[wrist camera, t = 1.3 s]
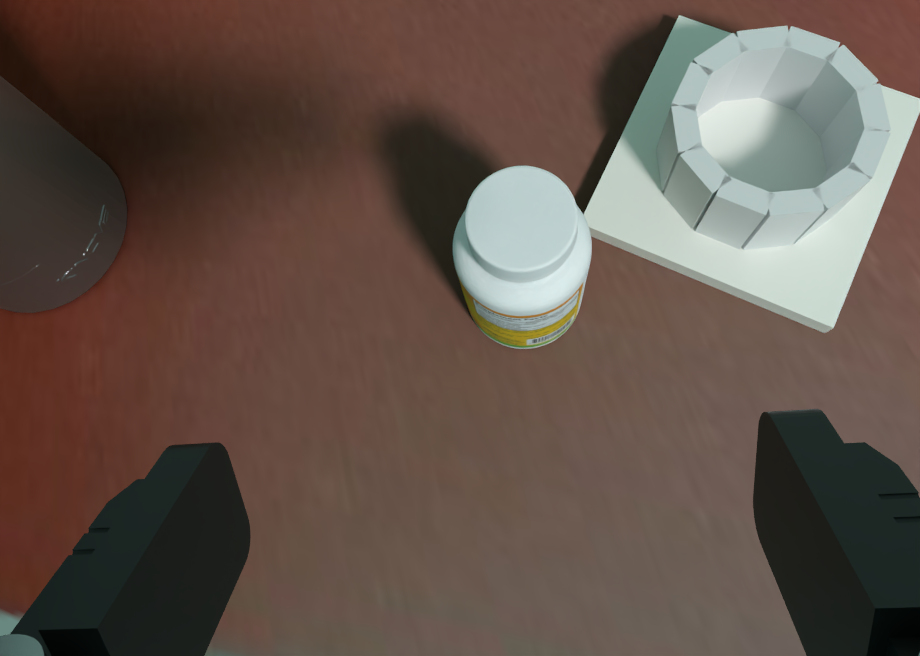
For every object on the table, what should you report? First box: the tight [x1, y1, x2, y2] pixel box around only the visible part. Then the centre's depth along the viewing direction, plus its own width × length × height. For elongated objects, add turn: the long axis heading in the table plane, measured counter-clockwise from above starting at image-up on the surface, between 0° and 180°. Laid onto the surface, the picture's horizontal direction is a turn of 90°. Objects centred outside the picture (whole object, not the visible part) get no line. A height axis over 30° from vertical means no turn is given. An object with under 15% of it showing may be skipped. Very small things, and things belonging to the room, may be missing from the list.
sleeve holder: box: [583, 15, 920, 333], centre depth 33 cm, size 12×12×5 cm
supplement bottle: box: [453, 166, 592, 349], centre depth 30 cm, size 5×5×10 cm
